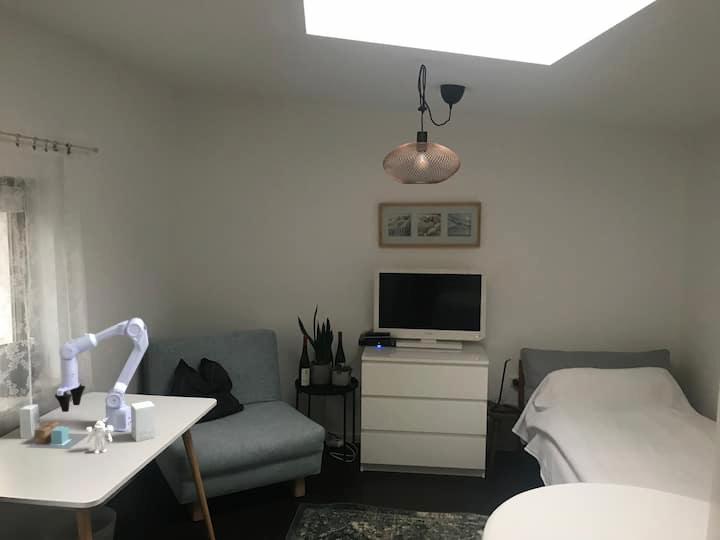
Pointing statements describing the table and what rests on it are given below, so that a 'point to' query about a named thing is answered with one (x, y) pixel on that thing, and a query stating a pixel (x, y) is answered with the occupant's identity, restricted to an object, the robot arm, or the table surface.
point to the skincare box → (29, 420)
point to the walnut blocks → (44, 432)
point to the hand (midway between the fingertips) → (71, 408)
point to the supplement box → (143, 421)
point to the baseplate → (72, 441)
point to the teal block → (59, 435)
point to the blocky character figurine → (100, 435)
